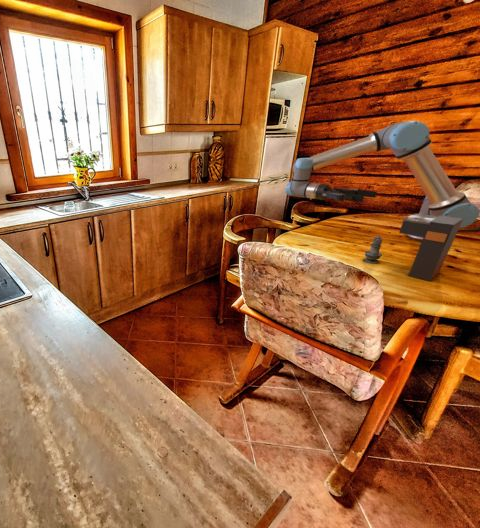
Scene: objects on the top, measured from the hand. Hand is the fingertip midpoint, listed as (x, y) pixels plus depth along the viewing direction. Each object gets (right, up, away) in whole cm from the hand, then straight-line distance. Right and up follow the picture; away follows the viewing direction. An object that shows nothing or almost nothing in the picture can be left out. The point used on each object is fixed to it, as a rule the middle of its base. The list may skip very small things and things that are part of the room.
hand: (369, 196), depth 123 cm
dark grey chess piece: (0, -29, -1) cm, 29 cm away
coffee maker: (+7, -33, -11) cm, 36 cm away
